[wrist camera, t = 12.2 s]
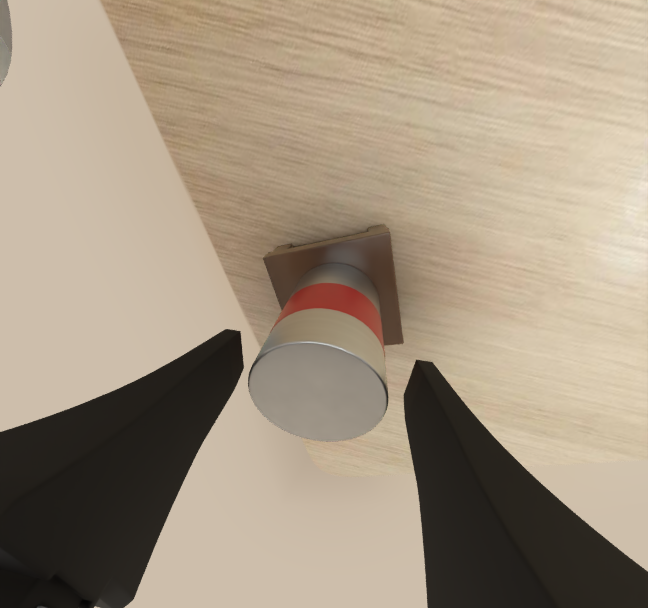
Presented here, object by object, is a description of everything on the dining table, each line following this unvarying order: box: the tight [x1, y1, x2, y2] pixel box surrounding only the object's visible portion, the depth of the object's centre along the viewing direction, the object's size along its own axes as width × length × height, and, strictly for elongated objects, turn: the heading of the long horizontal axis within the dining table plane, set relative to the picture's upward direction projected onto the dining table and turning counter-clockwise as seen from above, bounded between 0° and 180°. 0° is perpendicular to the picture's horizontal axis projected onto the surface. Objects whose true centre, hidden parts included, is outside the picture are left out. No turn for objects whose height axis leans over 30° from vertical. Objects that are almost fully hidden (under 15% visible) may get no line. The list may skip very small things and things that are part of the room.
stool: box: [263, 224, 403, 345], centre depth 16 cm, size 7×7×2 cm
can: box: [248, 263, 388, 442], centre depth 12 cm, size 5×5×7 cm
